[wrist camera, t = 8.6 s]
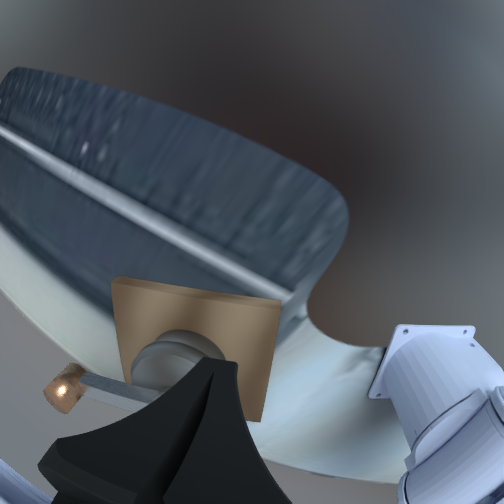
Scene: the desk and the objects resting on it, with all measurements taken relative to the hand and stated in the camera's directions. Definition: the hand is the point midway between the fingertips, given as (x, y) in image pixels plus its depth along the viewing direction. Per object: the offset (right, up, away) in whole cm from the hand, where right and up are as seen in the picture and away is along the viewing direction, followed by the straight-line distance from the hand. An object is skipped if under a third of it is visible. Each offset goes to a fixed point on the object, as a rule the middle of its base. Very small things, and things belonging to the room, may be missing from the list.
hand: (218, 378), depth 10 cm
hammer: (-8, -5, +7) cm, 12 cm away
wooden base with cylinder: (-4, -4, +12) cm, 13 cm away
